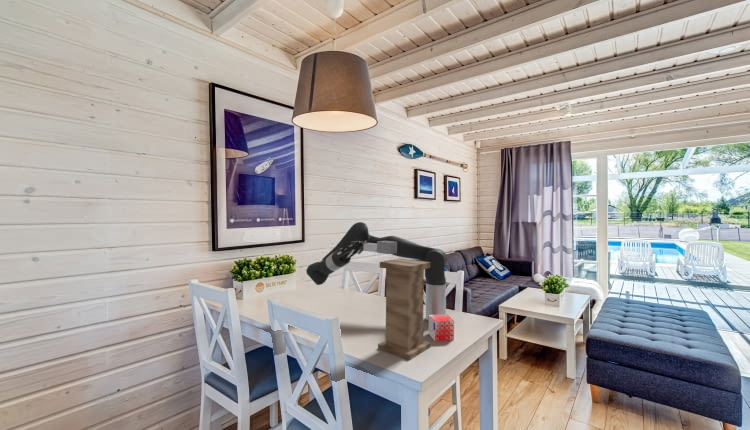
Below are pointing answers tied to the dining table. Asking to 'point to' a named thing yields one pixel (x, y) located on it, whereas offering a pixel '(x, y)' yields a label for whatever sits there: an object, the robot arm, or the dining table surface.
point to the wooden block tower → (404, 307)
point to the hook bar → (378, 247)
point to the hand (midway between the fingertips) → (363, 243)
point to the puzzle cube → (441, 327)
